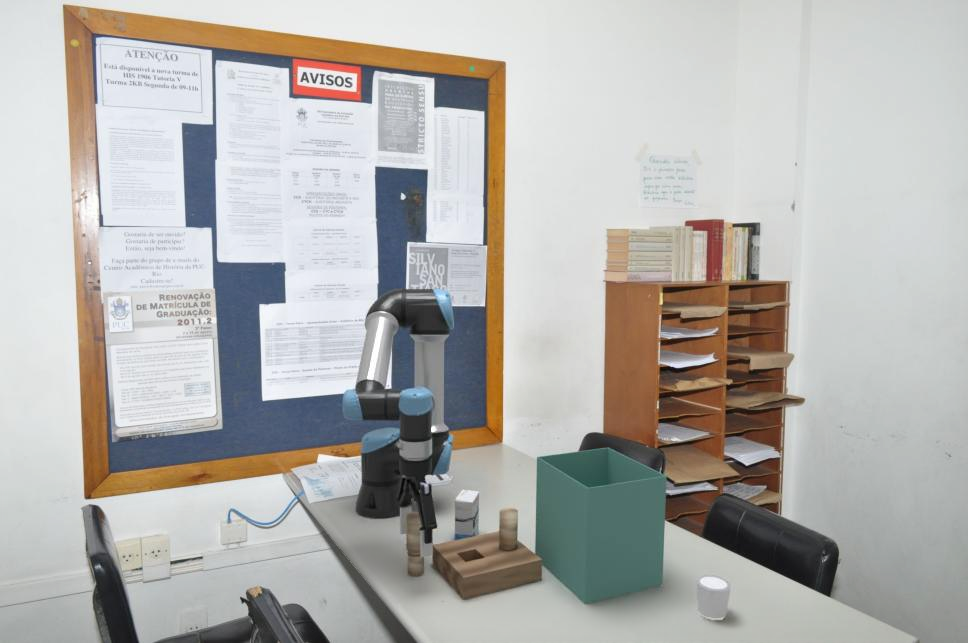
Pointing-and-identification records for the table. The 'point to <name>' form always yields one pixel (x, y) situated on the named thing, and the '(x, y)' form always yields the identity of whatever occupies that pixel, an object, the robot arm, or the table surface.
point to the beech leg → (414, 545)
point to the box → (600, 522)
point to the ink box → (466, 514)
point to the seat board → (488, 560)
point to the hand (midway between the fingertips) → (415, 544)
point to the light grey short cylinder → (712, 596)
